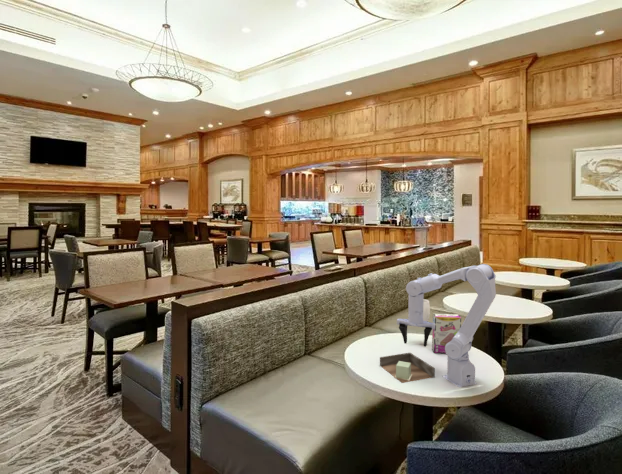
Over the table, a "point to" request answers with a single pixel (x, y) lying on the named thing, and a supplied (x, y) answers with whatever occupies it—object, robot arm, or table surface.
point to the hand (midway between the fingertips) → (415, 344)
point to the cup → (426, 310)
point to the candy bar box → (444, 330)
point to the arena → (417, 366)
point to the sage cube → (403, 370)
